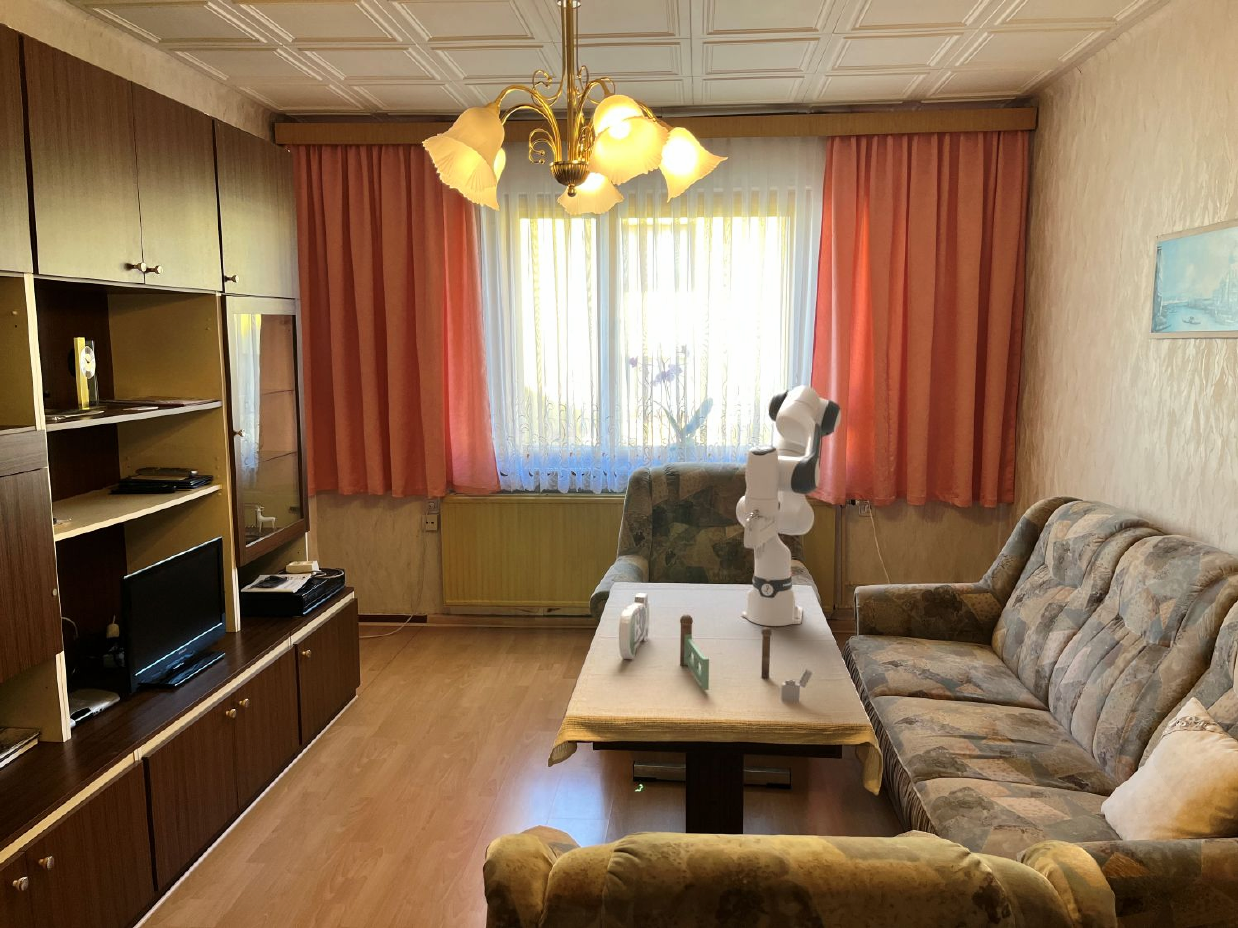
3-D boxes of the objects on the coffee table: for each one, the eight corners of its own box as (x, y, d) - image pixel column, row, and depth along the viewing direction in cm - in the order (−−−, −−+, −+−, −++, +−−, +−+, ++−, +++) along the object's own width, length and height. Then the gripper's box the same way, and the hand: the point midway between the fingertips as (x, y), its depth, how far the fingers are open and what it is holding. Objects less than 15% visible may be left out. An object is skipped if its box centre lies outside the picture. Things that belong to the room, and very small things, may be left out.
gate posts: (681, 661, 254) (682, 612, 252) (771, 675, 244) (773, 624, 242) (677, 665, 251) (678, 615, 249) (768, 680, 241) (769, 628, 239)
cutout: (641, 590, 274) (619, 608, 250) (650, 591, 273) (629, 609, 249) (639, 640, 275) (617, 663, 251) (648, 641, 274) (627, 664, 250)
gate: (689, 662, 250) (690, 634, 249) (708, 689, 231) (709, 658, 230) (684, 663, 250) (684, 634, 249) (702, 690, 231) (702, 659, 230)
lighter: (782, 701, 227) (783, 670, 226) (781, 699, 228) (782, 667, 227) (811, 702, 226) (812, 671, 225) (810, 699, 228) (811, 668, 227)
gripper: (762, 515, 237) (760, 568, 239) (782, 501, 255) (780, 550, 257) (738, 513, 239) (737, 565, 241) (759, 499, 258) (758, 548, 260)
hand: (759, 557), depth 249 cm, fingers closed
